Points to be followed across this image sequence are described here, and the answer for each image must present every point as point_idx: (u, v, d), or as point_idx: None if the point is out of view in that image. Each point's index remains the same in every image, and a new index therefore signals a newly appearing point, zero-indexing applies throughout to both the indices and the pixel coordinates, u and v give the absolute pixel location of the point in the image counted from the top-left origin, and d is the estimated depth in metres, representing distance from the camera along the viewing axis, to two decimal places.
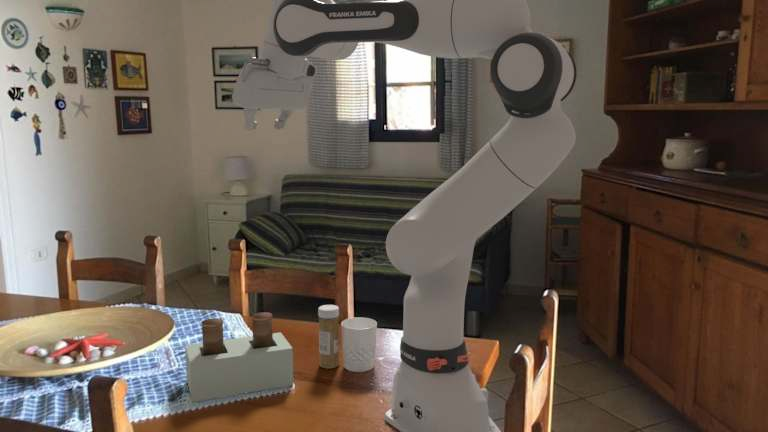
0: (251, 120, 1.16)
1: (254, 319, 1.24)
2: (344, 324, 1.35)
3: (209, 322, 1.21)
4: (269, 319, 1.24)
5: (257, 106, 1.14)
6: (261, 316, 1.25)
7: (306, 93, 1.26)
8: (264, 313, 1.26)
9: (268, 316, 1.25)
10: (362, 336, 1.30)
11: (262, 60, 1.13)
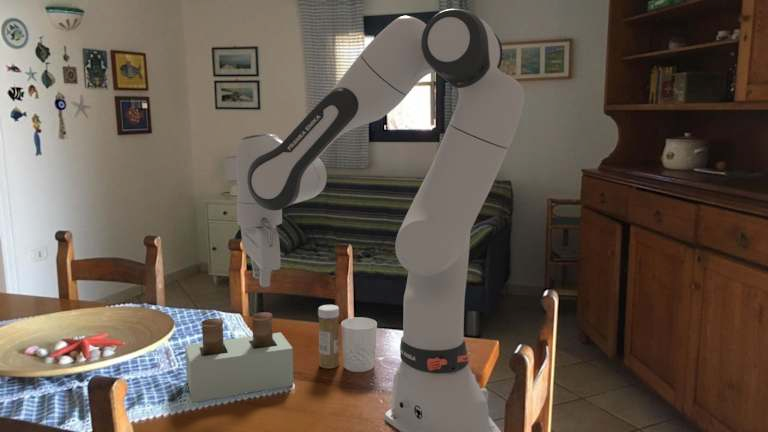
0: (269, 276, 1.20)
1: (254, 319, 1.24)
2: (344, 324, 1.35)
3: (209, 322, 1.21)
4: (269, 319, 1.24)
5: None
6: (261, 316, 1.25)
7: None
8: (264, 313, 1.26)
9: (268, 316, 1.25)
10: (362, 336, 1.30)
11: (268, 220, 1.16)
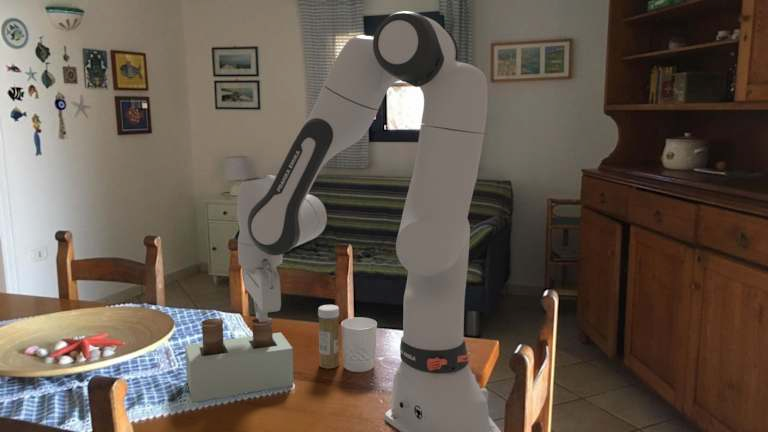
0: (267, 312, 1.24)
1: (254, 324, 1.24)
2: (344, 324, 1.35)
3: (209, 322, 1.21)
4: (269, 324, 1.24)
5: None
6: None
7: None
8: None
9: (268, 321, 1.25)
10: (362, 336, 1.30)
11: (268, 262, 1.18)
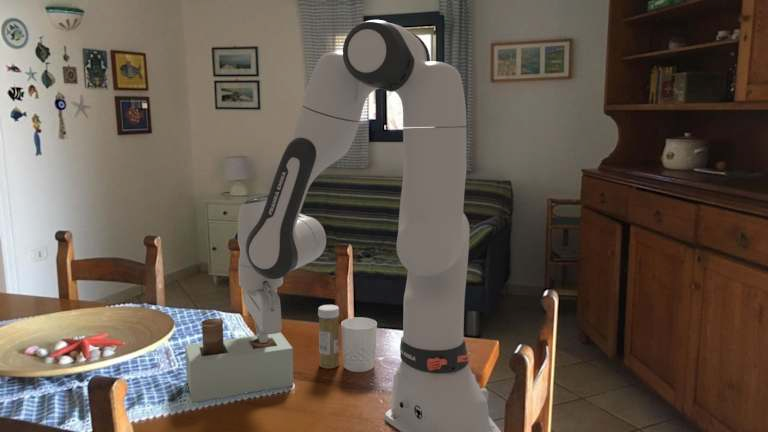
0: None
1: (255, 345, 1.25)
2: (344, 324, 1.35)
3: (209, 322, 1.21)
4: (270, 345, 1.25)
5: None
6: None
7: None
8: None
9: (269, 342, 1.25)
10: (362, 336, 1.30)
11: (269, 284, 1.18)
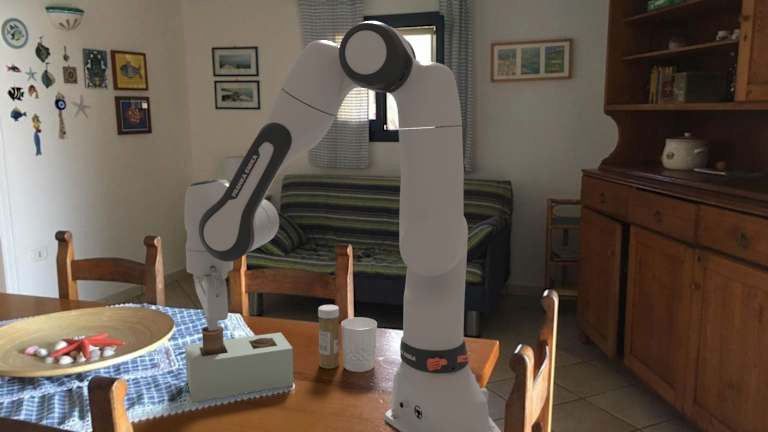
0: (217, 320, 1.20)
1: (255, 345, 1.25)
2: (344, 324, 1.35)
3: None
4: (270, 345, 1.25)
5: None
6: (262, 342, 1.25)
7: None
8: (265, 339, 1.27)
9: (269, 342, 1.25)
10: (362, 336, 1.30)
11: (216, 269, 1.14)
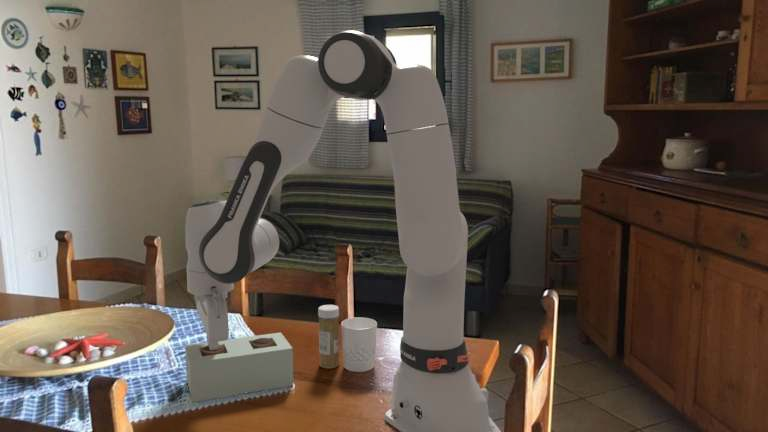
0: None
1: (255, 345, 1.25)
2: (344, 324, 1.35)
3: None
4: (270, 345, 1.25)
5: None
6: (262, 342, 1.25)
7: None
8: (265, 339, 1.27)
9: (269, 342, 1.25)
10: (362, 336, 1.30)
11: (216, 290, 1.14)
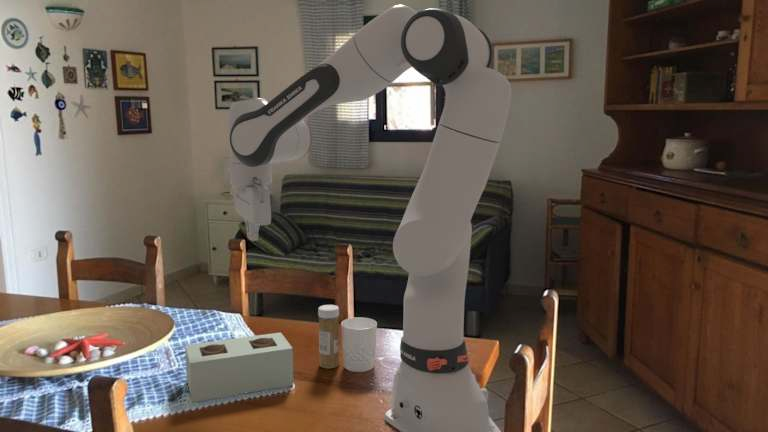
0: (258, 231, 1.30)
1: (255, 345, 1.25)
2: (344, 324, 1.35)
3: (210, 348, 1.22)
4: (270, 345, 1.25)
5: None
6: (262, 342, 1.25)
7: None
8: (265, 339, 1.27)
9: (269, 342, 1.25)
10: (362, 336, 1.30)
11: None
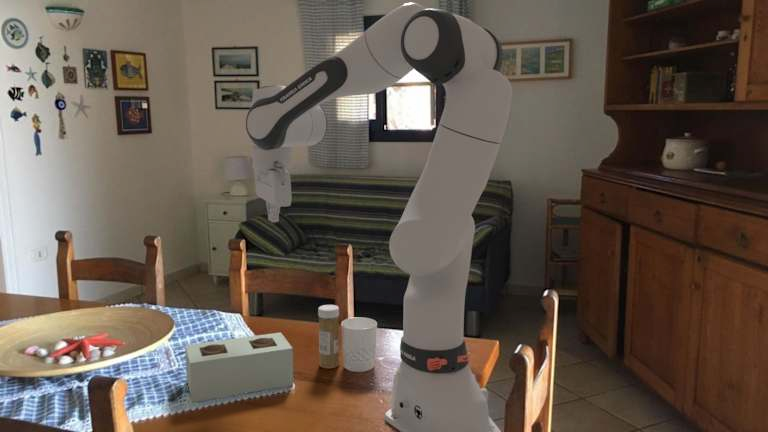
0: (278, 213, 1.36)
1: (255, 345, 1.25)
2: (344, 324, 1.35)
3: (210, 348, 1.22)
4: (270, 345, 1.25)
5: None
6: (262, 342, 1.25)
7: None
8: (265, 339, 1.27)
9: (269, 342, 1.25)
10: (362, 336, 1.30)
11: (280, 163, 1.30)
